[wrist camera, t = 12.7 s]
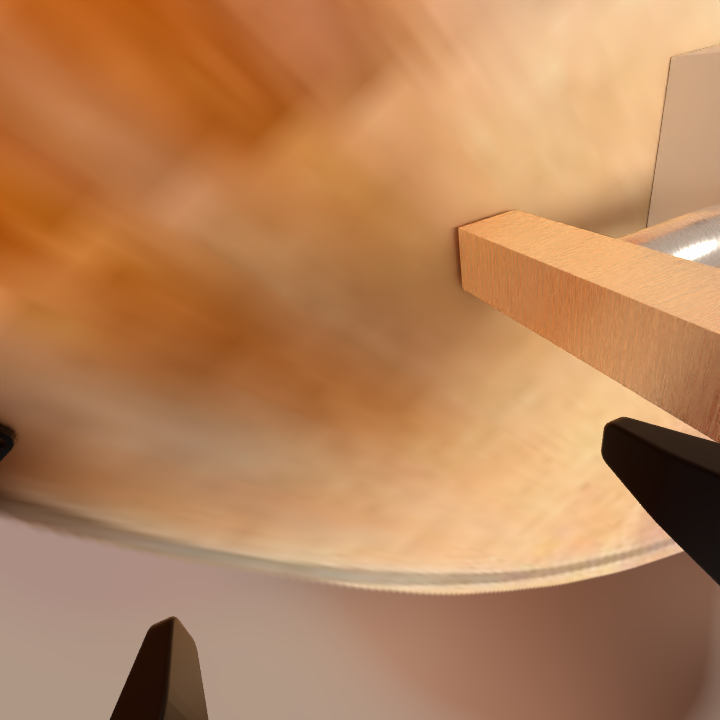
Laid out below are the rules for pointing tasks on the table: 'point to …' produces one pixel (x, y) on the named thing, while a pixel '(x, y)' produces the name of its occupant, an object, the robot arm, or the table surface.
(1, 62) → the table surface
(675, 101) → the block
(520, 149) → the table surface
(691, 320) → the grey piece
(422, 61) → the table surface
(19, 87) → the table surface
